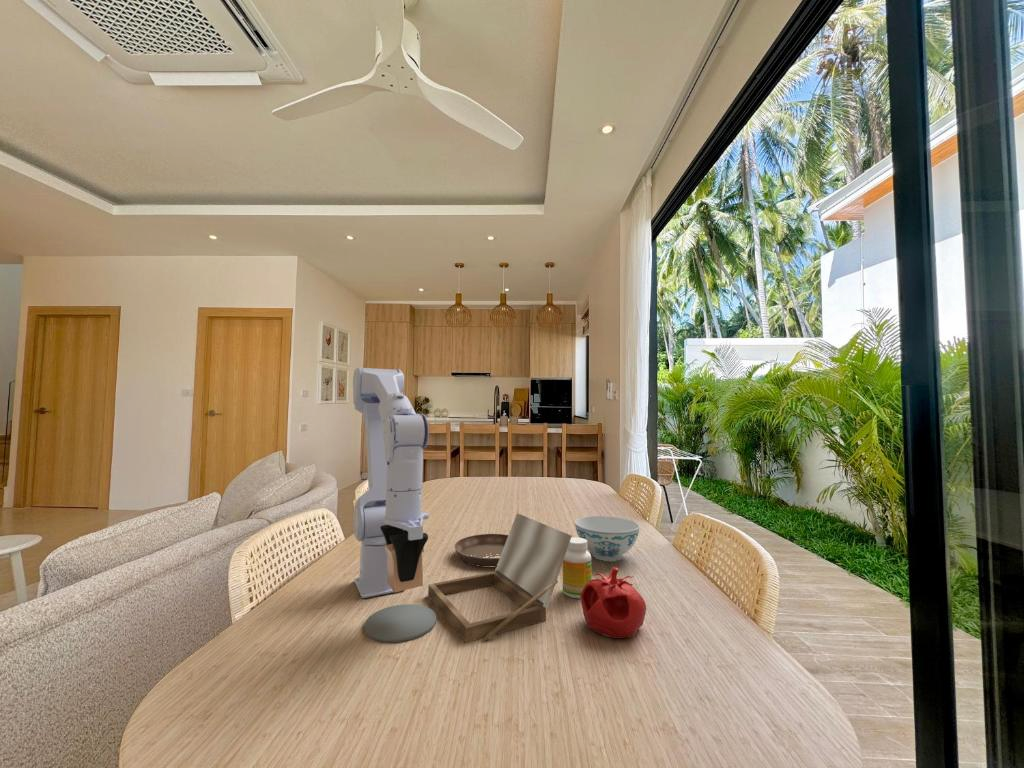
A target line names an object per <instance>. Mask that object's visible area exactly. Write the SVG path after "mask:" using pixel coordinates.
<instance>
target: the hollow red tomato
mask: <svg viewBox="0 0 1024 768" xmlns="http://www.w3.org/2000/svg"><path fill="white" fill-rule="evenodd" d="M618 573H619V567H614V566H613V567H611V570H610V573H609V575H608V577H607V576H606V575H604V574H603V573H595V574H594V576H600V577H601V578H595V579H594V578H593V579H592V578H591V579H592V580H590V581H589V582H587V583H586V585H585V587H584V588H583V590H582V593H581V598H580V600H581V601H580V602H581V607H582V608H581V609H582V615H583V616H584V621H585V623H586V624H587V626H588V627H589V628H590V629H592V631H594V632H597V633H598V634H601V635H603V636H607V637H608V638H613V639H621V638H625V639H626V638H632V637H634V636H635V635H636V633H637V631H638V630H639V628H641V627H642V626H643V624H644V621H645V616H646V611H647V604H646V601H645V599H644V598H643V596H642V595H641V594H640V593H639V592H638V590H637V589H636V588H635V587H634V586H633V583H630V582H629V581H627V580H626V579H628V578H634V576H635V575H632V576H630V575H626V576H625V577H624V576H623V577H620V578H617V577H618Z"/></svg>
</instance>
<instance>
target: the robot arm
mask: <svg viewBox="0 0 1024 768" xmlns="http://www.w3.org/2000/svg"><path fill="white" fill-rule="evenodd" d="M404 387H405V375H404V372H403V371H402V370H401V368H397V369H392V368H391V369H390V368H389V369H388V368H387V369H386V368H369V367H361V366H358V367H356V368H355V369H354V372H353V376H352V395H353V396H352V397H353V398H352V399H353V405H354V410H355V411H357V412H359V413H361V414H362V417H363V421H364V428H365V443H366V444H365V445H366V446H365V447H366V463H367V481H368V482H367V483H368V484H367V485H368V489H367V490H366V491H365V492H364V493H363V494H362V495H360V496H359V497H358V498H357V500H356V502H355V503H354V514H353V533H354V534H353V536H354V537H355V539H356V541H358V542H361V546H360V550H359V551H360V552H359V553H360V554H359V577H355V578H354V579H353V581H354V585H355V586H356V588H357V590H358V592H359V594H360V597H361V598H362V599H366V598H372V597H377V596H381V595H382V596H383V595H387V594H391V593H392V594H393V593H394V592H393V590H392V589H391V587H390V586H389V584H388V573H387V552H386V551H385V545H389V544H393V547H394V550H395V554H396V559H397V568H398V576H399V580H400V582H405V581H410V580H414V577H415V573H416V569H417V565H418V561H419V557H420V554H421V552H422V549H423V547H425V546H426V543H427V541H428V540H429V535H428V533H426V532H424V526H423V521H424V520H428V519H429V518H430V516H429V515H430V514H429V513H428V512H424V511H423V506H422V505H423V473H424V472H423V469H424V449H426V448H427V445H428V443H429V436H430V429H429V428H430V426H429V422H428V419H427V416H426V414H424V413H417V412H416V411H415V409H414V406H413V405H412V403H411V400H409V398H408V396H406V395H405V394H404V389H405V388H404ZM422 511H423V512H422ZM422 553H423V552H422Z"/></svg>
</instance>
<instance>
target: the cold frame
mask: <svg viewBox="0 0 1024 768" xmlns="http://www.w3.org/2000/svg"><path fill="white" fill-rule="evenodd" d="M507 535H508V538H507V540H506V543H505V546H504V548H503V551H502V554H501V556H500V559H499V561H498V564H497V567H495V569H494V571H491V572H486V573H481V574H474V575H471V576H464V577H459V578H455V579H450V580H444V581H439V582H435V583H430V584H428V585H427V586H428V590H427V591H428V592H427V593H428V595H427V597H429V599H430V598H431V599H430V600H431V601H432V602H433V603H434V604H435V606H436V607H437V608H438V610H439V611H440V612H441V613H442V615H444V617H445V618H446V620H448V622H449V623H450V624H451V625H452V626H453V628H454V629H455V630H456V631H457V633H458V634H459V635H460V637H461V638H462V639H463V640H464V641H465V643H468V642H471V641H476V640H481V639H482V638H483V639H484V640H485V641H488V640H489V639H490V638H491V637H492V636H494V635H498V634H501V633H504V632H509V631H512V630H515V629H519V628H522V627H526V626H530V625H533V624H537V623H541V622H543V621H546V620H547V609H548V607H549V603H550V600H551V597H552V595H553V593H554V589H555V586H556V585H557V584H558V577H559V575H560V572H561V568H562V567H563V560H564V557H565V554H566V551H567V548H568V545H569V543H570V540H571V538H572V536H573V535H570V534H568V533H566V532H564V531H561V530H559V529H556V528H554V527H552V526H549V525H548V524H547V525H546V524H545V523H542V522H540V521H537V520H535V519H533V518H530V517H527V516H525V515H523V514H522V513H521V514H520V513H519V512H517V513H516V515H515V517H514V520H513V522H512V525H511V528H510V531H509V533H508V534H507ZM491 584H493V585H494V586H495V585H496V586H495V587H497V588H498V589H499V590H500V591H502V592H503V593H504V594H505V595H507V596H508V597H509V598H511V600H513V601H515V603H517V604H518V605H519V606H521V607H519V608H518V609H516V610H515V611H514V612H508V613H505V614H502V615H497V616H495V617H494V616H493V617H490V618H486V619H483V620H478V621H474V622H471V623H470V622H469V621H468V619H467V618H466V617H465V616H464V615H463V614H462V613H461V612H460V611H459V610H458V608H457V607H456V606H455V605H454V604H453V603H452V602H451V601H450V600H449V599H448V597H447V596H446V595H449V594H455V593H458V592H459V593H460V592H463V591H469V590H474V589H477V588H482V587H486V586H487V585H488V586H492V585H491Z"/></svg>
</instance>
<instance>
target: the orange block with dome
mask: <svg viewBox="0 0 1024 768" xmlns="http://www.w3.org/2000/svg"><path fill="white" fill-rule="evenodd" d="M424 547H425V546H424ZM424 547H423V549H422V552H421V554H420V557H419V561H418V565H417V569H416V573H415V577H414V580H410V581H405V582H400V580H399V576H398V568H397V559H396V554H395V550H394V547H393V544H389V545H385V551H386V552H387V573H388V584H389V586H390V587H391V589H392V590H393V592H392V593H398V592H403V591H406V590H407V591H408V590H411V589H415V588H418V587H423V586H424V580H423V579H424V576H423V553H424V552H425V548H424Z"/></svg>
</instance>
